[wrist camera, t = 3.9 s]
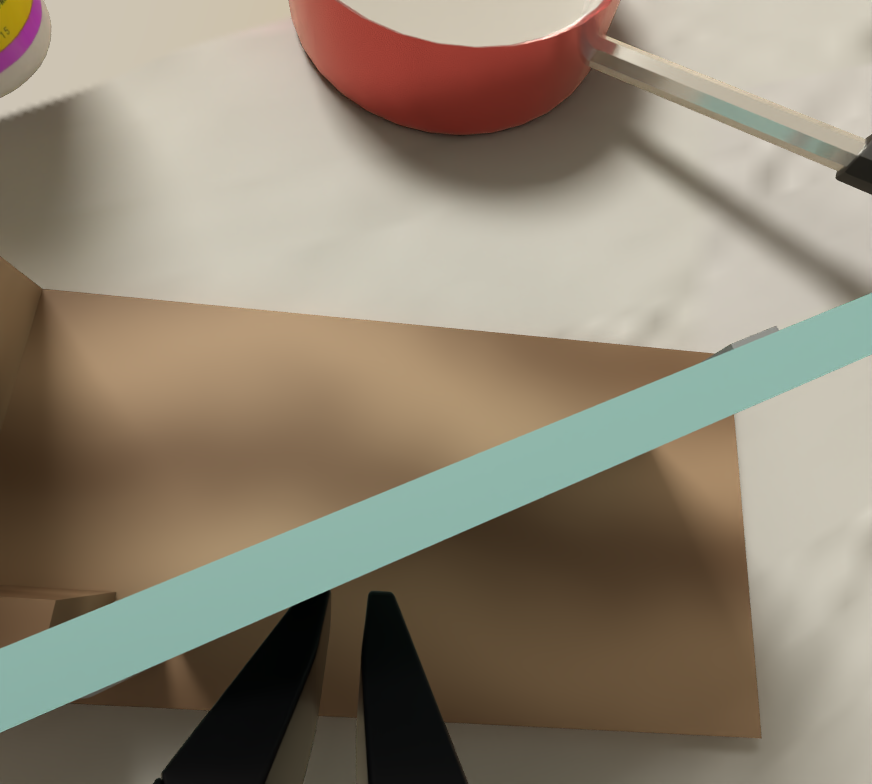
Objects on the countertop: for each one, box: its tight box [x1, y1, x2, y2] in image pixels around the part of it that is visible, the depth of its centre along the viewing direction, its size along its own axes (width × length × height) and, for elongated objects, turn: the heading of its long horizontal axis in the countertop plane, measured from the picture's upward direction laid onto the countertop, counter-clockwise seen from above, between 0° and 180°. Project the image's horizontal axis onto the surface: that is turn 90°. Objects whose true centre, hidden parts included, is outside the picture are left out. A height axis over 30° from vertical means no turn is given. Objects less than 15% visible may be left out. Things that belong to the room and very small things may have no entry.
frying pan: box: [289, 0, 872, 195], centre depth 20 cm, size 32×13×6 cm, turn 60°
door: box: [0, 293, 872, 733], centre depth 12 cm, size 1×17×10 cm, turn 113°
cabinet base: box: [0, 256, 762, 738], centre depth 12 cm, size 12×24×12 cm, turn 86°
